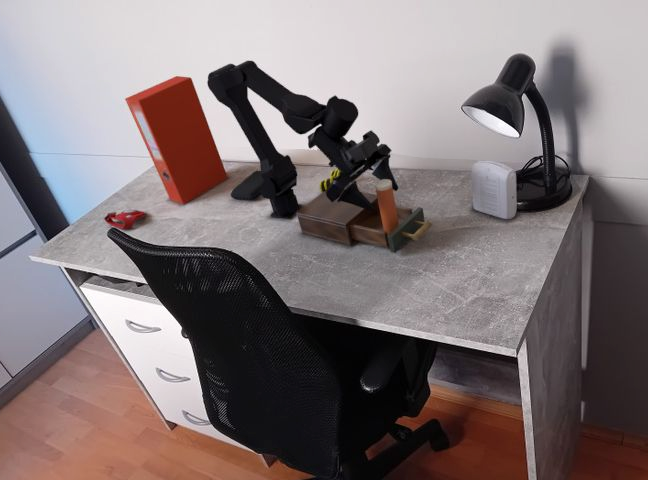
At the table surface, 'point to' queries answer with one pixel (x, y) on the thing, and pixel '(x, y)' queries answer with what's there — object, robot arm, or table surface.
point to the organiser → (331, 218)
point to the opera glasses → (329, 180)
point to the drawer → (410, 226)
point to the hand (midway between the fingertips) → (385, 199)
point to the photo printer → (494, 189)
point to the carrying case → (249, 187)
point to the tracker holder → (124, 218)
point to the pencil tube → (387, 205)
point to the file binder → (178, 138)
